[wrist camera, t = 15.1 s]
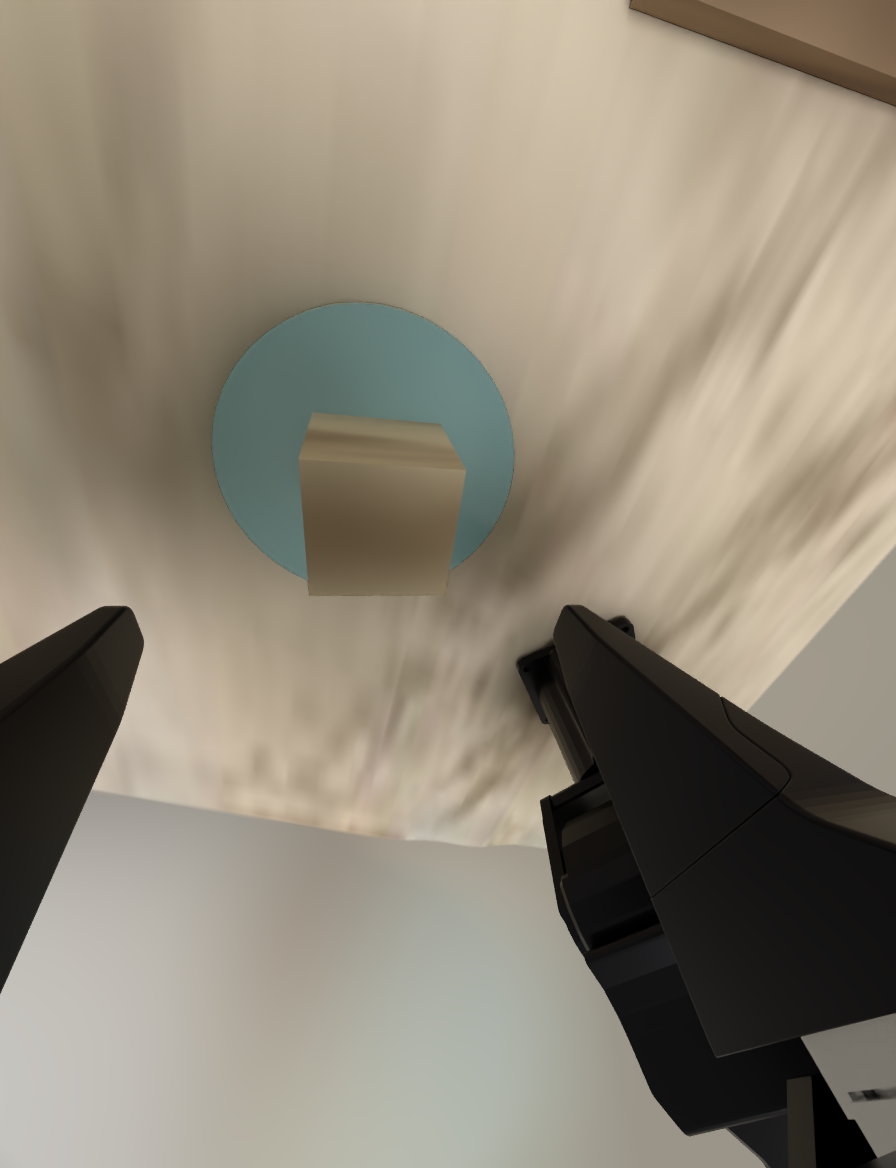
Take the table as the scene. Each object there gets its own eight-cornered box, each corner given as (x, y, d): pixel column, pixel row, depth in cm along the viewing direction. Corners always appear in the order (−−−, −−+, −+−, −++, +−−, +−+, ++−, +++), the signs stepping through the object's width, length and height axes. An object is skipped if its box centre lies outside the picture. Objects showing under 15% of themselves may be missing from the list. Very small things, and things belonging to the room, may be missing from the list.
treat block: (427, 530, 16) (445, 595, 13) (318, 527, 15) (308, 595, 12) (440, 423, 13) (466, 470, 10) (312, 411, 13) (298, 459, 9)
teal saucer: (535, 522, 17) (542, 532, 17) (326, 614, 18) (325, 626, 18) (450, 234, 11) (455, 232, 11) (142, 394, 12) (130, 401, 12)
